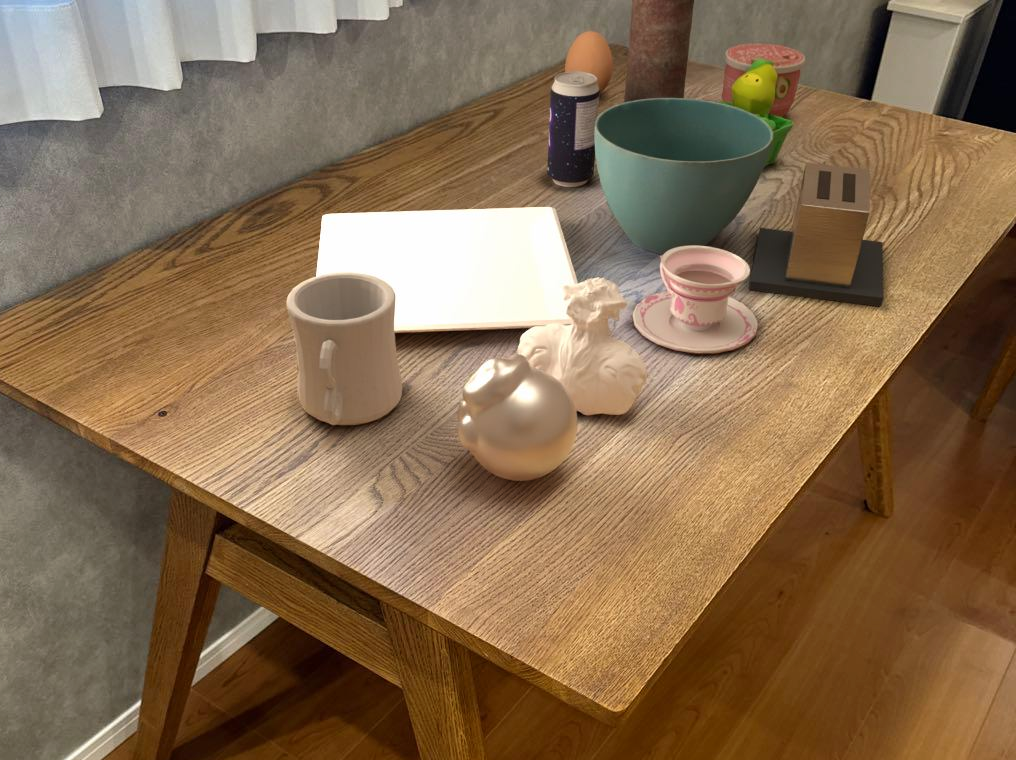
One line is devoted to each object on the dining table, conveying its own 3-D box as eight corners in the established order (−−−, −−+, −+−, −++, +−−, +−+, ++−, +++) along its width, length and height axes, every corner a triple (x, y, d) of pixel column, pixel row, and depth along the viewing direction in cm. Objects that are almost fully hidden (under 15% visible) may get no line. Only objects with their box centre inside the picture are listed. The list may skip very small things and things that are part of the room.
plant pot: (748, 209, 119) (767, 101, 111) (756, 283, 105) (779, 165, 97) (592, 200, 121) (600, 93, 113) (580, 271, 107) (589, 155, 99)
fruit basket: (679, 154, 132) (691, 61, 124) (721, 136, 136) (736, 46, 128) (752, 179, 125) (769, 83, 118) (794, 161, 130) (813, 67, 122)
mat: (880, 250, 111) (882, 241, 110) (880, 306, 101) (883, 297, 101) (758, 236, 113) (760, 227, 113) (748, 289, 104) (750, 280, 103)
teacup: (781, 323, 99) (794, 264, 95) (709, 370, 93) (720, 309, 89) (680, 282, 105) (688, 225, 101) (607, 324, 99) (612, 265, 95)
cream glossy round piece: (501, 422, 87) (502, 317, 80) (594, 462, 82) (604, 355, 76) (434, 473, 81) (429, 366, 75) (530, 520, 77) (535, 410, 70)
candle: (636, 172, 127) (654, -5, 114) (607, 152, 132) (621, -20, 119) (688, 162, 129) (712, -12, 116) (657, 142, 134) (677, -27, 121)
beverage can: (586, 169, 128) (593, 68, 120) (598, 187, 123) (606, 84, 116) (542, 173, 127) (546, 71, 119) (552, 191, 123) (557, 87, 115)
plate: (588, 340, 97) (590, 320, 95) (312, 350, 95) (310, 331, 94) (554, 222, 116) (554, 204, 115) (324, 229, 115) (322, 212, 114)
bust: (642, 434, 89) (685, 308, 88) (618, 424, 82) (665, 288, 81) (521, 395, 94) (561, 275, 92) (489, 383, 87) (531, 253, 85)
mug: (311, 369, 93) (299, 268, 86) (410, 374, 92) (404, 272, 86) (278, 449, 84) (261, 343, 77) (387, 456, 83) (379, 349, 77)
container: (711, 124, 139) (720, 62, 134) (721, 99, 147) (730, 40, 141) (790, 132, 137) (802, 70, 132) (796, 107, 144) (808, 47, 139)
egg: (609, 90, 150) (615, 25, 144) (610, 106, 145) (615, 39, 139) (563, 89, 150) (567, 24, 144) (562, 105, 145) (566, 38, 139)
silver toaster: (784, 280, 104) (800, 204, 98) (791, 231, 112) (806, 158, 107) (849, 288, 102) (870, 211, 97) (851, 237, 111) (870, 164, 105)
